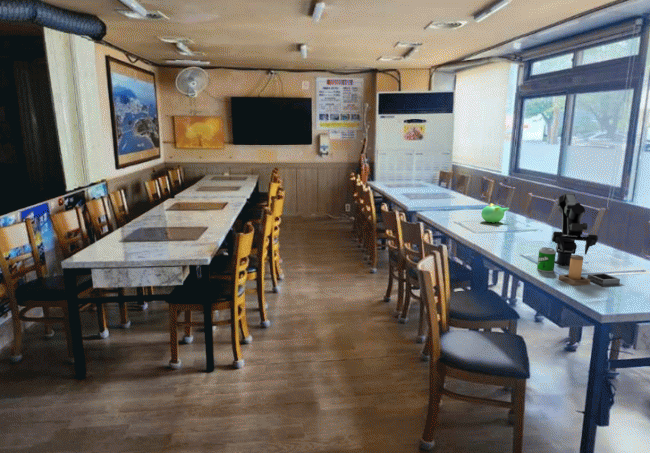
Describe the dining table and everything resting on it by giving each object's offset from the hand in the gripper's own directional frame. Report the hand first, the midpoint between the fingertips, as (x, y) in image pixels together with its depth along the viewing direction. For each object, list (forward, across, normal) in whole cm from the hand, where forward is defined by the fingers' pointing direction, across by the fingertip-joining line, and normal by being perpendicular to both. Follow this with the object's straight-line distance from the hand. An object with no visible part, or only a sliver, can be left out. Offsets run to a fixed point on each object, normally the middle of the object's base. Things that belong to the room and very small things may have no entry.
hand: (574, 253), depth 210 cm
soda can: (+4, -11, +15) cm, 18 cm away
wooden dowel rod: (+13, 0, +4) cm, 14 cm away
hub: (+11, +12, +8) cm, 18 cm away
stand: (+14, 0, +4) cm, 14 cm away
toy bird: (-86, -36, +104) cm, 140 cm away
